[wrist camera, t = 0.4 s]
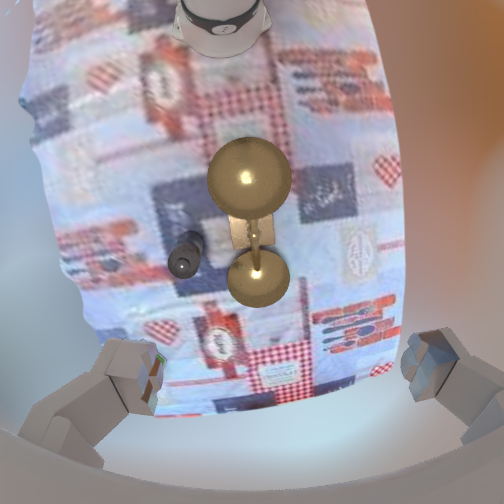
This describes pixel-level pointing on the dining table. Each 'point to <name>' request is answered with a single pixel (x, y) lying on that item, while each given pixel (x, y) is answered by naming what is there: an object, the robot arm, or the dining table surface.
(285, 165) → the balance
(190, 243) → the iron weight
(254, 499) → the robot arm
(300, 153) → the dining table surface
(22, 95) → the dining table surface
